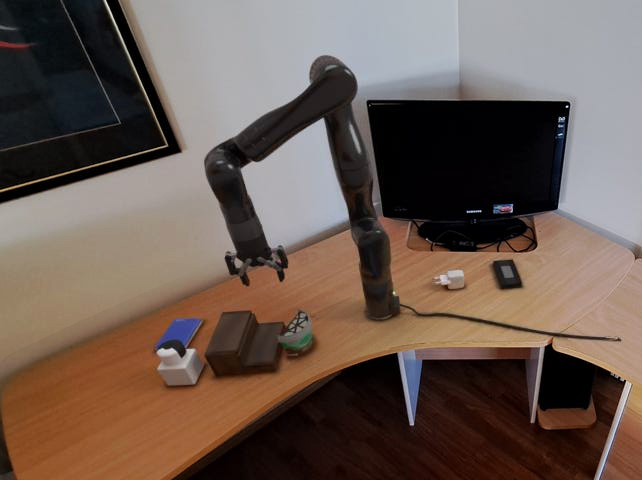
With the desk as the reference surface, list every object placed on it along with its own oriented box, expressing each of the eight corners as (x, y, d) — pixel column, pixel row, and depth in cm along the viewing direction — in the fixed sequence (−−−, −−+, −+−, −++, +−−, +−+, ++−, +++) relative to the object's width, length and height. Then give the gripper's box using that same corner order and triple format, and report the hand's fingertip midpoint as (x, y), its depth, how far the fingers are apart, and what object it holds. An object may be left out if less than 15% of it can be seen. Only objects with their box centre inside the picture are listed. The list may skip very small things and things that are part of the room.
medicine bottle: (178, 365, 126) (160, 336, 118) (205, 364, 127) (188, 335, 119) (167, 386, 121) (147, 357, 113) (195, 385, 121) (176, 355, 113)
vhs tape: (512, 263, 168) (512, 259, 167) (521, 287, 158) (522, 282, 156) (493, 265, 167) (493, 260, 166) (501, 289, 157) (501, 284, 155)
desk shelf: (286, 329, 138) (279, 308, 132) (275, 371, 126) (266, 350, 120) (232, 333, 136) (222, 312, 130) (215, 376, 124) (203, 355, 118)
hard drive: (174, 318, 138) (153, 347, 129) (201, 318, 138) (182, 347, 129) (176, 321, 139) (156, 351, 130) (203, 321, 139) (184, 351, 130)
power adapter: (433, 292, 154) (432, 279, 150) (431, 284, 157) (430, 271, 154) (464, 289, 156) (465, 276, 152) (462, 280, 159) (462, 267, 156)
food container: (305, 364, 128) (297, 340, 121) (285, 360, 129) (276, 337, 122) (325, 334, 137) (318, 311, 131) (306, 331, 138) (299, 307, 131)
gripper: (212, 243, 105) (234, 295, 116) (275, 236, 108) (292, 287, 119) (217, 227, 111) (238, 277, 121) (277, 220, 114) (293, 270, 125)
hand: (265, 282), depth 120 cm, fingers open, 8 cm apart
